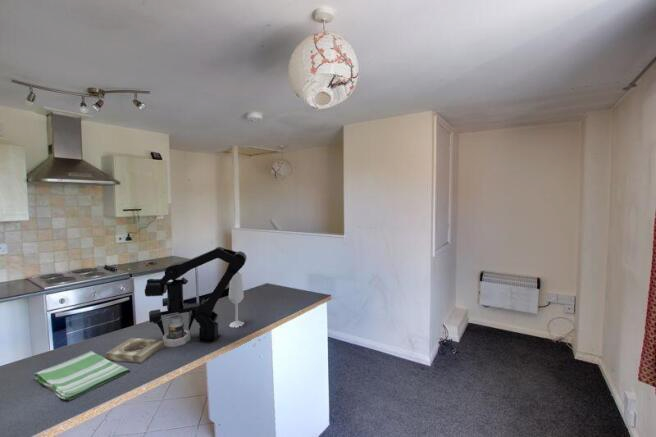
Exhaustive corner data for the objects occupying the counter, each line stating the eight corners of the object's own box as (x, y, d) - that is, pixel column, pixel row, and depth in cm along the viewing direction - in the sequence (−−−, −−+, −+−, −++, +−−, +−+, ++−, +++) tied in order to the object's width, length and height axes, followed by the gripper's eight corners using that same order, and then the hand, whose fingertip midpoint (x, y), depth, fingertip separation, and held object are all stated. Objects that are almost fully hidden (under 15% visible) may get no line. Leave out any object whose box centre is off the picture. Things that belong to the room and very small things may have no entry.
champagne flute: (241, 320, 146) (240, 270, 144) (246, 325, 141) (245, 273, 139) (227, 323, 142) (226, 272, 141) (231, 328, 137) (230, 275, 135)
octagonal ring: (194, 336, 129) (194, 330, 129) (180, 347, 120) (180, 341, 120) (173, 334, 131) (173, 329, 130) (158, 345, 121) (157, 339, 121)
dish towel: (65, 405, 88) (65, 395, 87) (31, 381, 99) (30, 373, 98) (130, 373, 103) (130, 365, 103) (94, 355, 114) (94, 348, 114)
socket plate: (164, 346, 121) (163, 340, 120) (141, 362, 109) (141, 356, 109) (131, 343, 123) (131, 337, 122) (106, 359, 111) (105, 353, 111)
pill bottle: (168, 345, 121) (168, 321, 121) (168, 339, 126) (168, 316, 126) (184, 342, 124) (184, 318, 123) (184, 336, 129) (183, 313, 128)
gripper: (196, 286, 136) (197, 320, 137) (147, 293, 126) (149, 330, 127) (201, 293, 126) (202, 330, 127) (148, 301, 116) (150, 341, 117)
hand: (176, 332), depth 125 cm, fingers open, 9 cm apart
